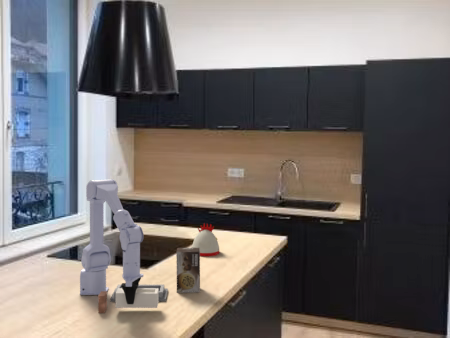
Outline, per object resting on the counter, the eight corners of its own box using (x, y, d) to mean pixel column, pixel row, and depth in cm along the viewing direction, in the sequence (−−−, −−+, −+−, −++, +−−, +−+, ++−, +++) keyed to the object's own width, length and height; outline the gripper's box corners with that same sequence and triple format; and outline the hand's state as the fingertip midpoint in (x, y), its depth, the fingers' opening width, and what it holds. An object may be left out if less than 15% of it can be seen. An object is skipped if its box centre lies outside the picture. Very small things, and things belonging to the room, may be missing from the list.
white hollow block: (157, 307, 181) (157, 293, 180) (115, 307, 180) (115, 293, 180) (158, 302, 186) (158, 288, 186) (118, 302, 186) (118, 288, 185)
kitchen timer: (218, 256, 259) (219, 226, 258) (190, 256, 259) (190, 225, 258) (219, 249, 273) (219, 220, 271) (192, 249, 273) (192, 220, 272)
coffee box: (199, 287, 210) (200, 247, 209) (200, 292, 204) (200, 251, 203) (176, 287, 210) (176, 247, 208) (176, 292, 203) (176, 251, 202)
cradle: (110, 301, 193) (110, 293, 192) (115, 291, 205) (115, 283, 204) (165, 301, 194) (165, 293, 193) (167, 290, 206) (167, 283, 205)
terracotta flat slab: (98, 313, 181) (98, 295, 181) (101, 308, 186) (101, 291, 186) (104, 313, 181) (104, 295, 181) (106, 308, 186) (106, 291, 186)
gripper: (140, 267, 175) (140, 308, 176) (145, 256, 189) (145, 293, 190) (119, 267, 174) (119, 308, 176) (125, 256, 189) (125, 293, 190)
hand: (131, 300), depth 183 cm, fingers closed on white hollow block, 5 cm apart
